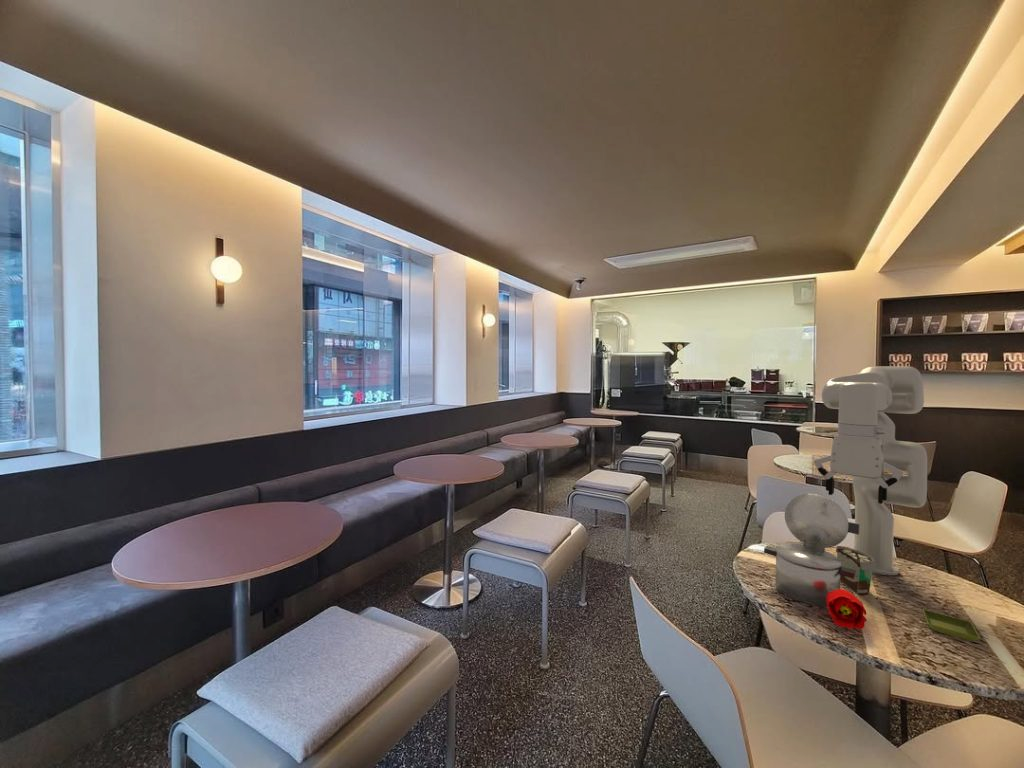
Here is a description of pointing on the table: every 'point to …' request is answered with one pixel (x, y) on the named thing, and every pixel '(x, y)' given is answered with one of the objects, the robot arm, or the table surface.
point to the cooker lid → (818, 521)
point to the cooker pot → (807, 572)
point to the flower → (846, 609)
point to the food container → (860, 564)
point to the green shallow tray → (951, 625)
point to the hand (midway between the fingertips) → (855, 498)
